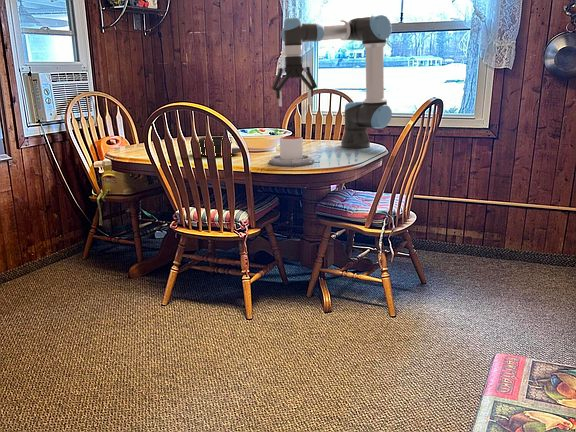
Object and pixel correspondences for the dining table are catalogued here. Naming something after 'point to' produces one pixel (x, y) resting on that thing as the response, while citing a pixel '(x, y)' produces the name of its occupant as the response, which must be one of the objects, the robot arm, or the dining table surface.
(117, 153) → the dining table surface
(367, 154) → the dining table surface
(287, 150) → the cup
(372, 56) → the robot arm
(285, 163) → the ring collar
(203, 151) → the casserole
